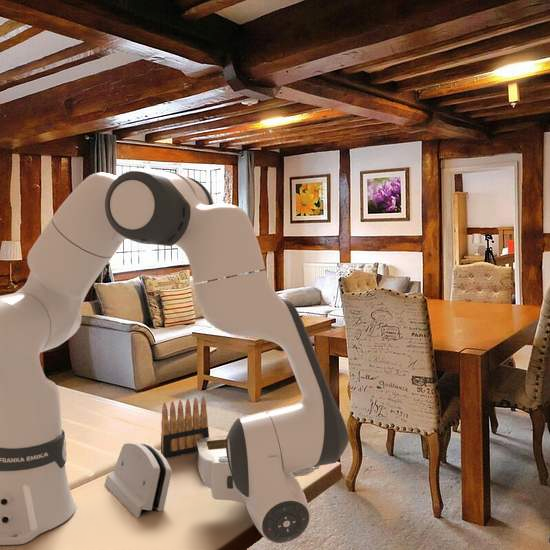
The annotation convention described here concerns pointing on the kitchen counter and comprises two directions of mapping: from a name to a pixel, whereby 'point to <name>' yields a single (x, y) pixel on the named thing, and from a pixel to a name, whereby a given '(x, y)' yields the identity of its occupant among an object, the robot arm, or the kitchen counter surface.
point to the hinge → (140, 478)
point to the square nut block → (209, 444)
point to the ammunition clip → (183, 428)
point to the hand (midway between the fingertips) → (248, 444)
